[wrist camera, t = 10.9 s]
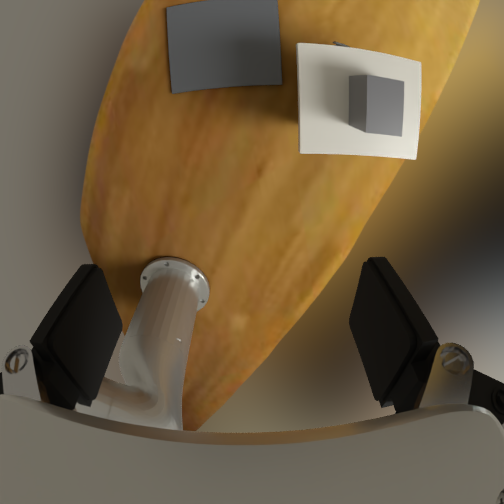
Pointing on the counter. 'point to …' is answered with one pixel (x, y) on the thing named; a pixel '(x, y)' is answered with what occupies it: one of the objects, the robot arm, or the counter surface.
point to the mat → (224, 44)
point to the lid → (357, 102)
